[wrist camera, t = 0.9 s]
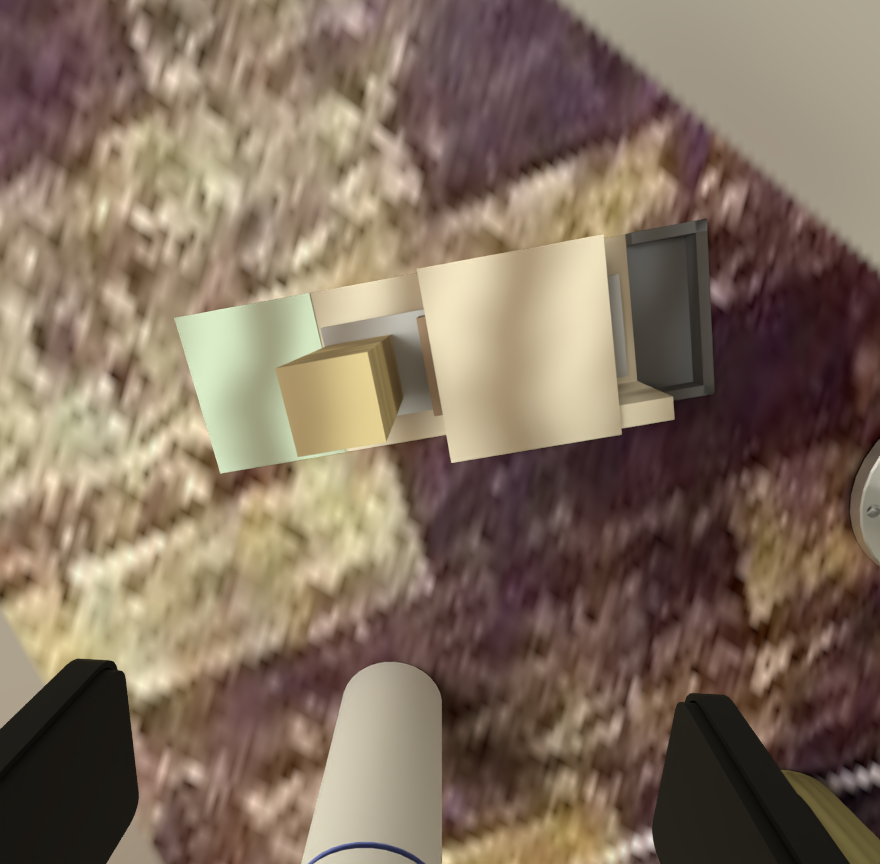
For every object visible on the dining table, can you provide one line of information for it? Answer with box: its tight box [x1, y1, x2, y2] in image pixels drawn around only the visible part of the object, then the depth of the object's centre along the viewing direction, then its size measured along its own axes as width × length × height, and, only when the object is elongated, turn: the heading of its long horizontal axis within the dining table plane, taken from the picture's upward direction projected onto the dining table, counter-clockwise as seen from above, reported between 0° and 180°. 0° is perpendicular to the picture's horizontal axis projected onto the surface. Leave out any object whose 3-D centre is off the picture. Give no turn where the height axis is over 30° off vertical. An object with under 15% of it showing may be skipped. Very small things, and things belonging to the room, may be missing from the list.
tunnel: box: [175, 219, 715, 473], centre depth 28 cm, size 30×10×6 cm, turn 100°
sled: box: [275, 274, 628, 457], centre depth 25 cm, size 16×6×11 cm, turn 100°
